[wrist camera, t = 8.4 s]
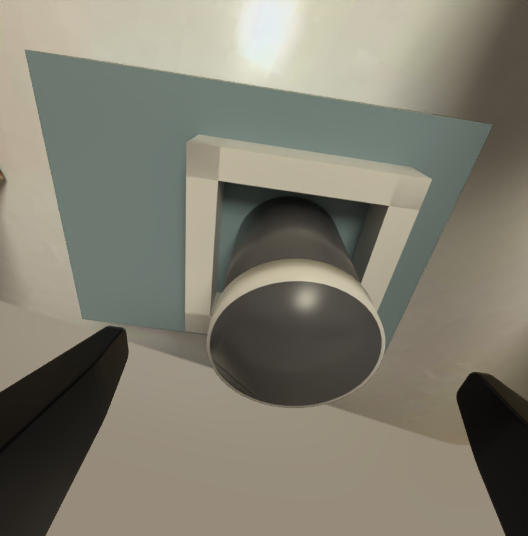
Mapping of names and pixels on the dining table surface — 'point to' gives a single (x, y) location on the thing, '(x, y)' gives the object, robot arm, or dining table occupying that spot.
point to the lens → (293, 311)
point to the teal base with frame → (233, 183)
